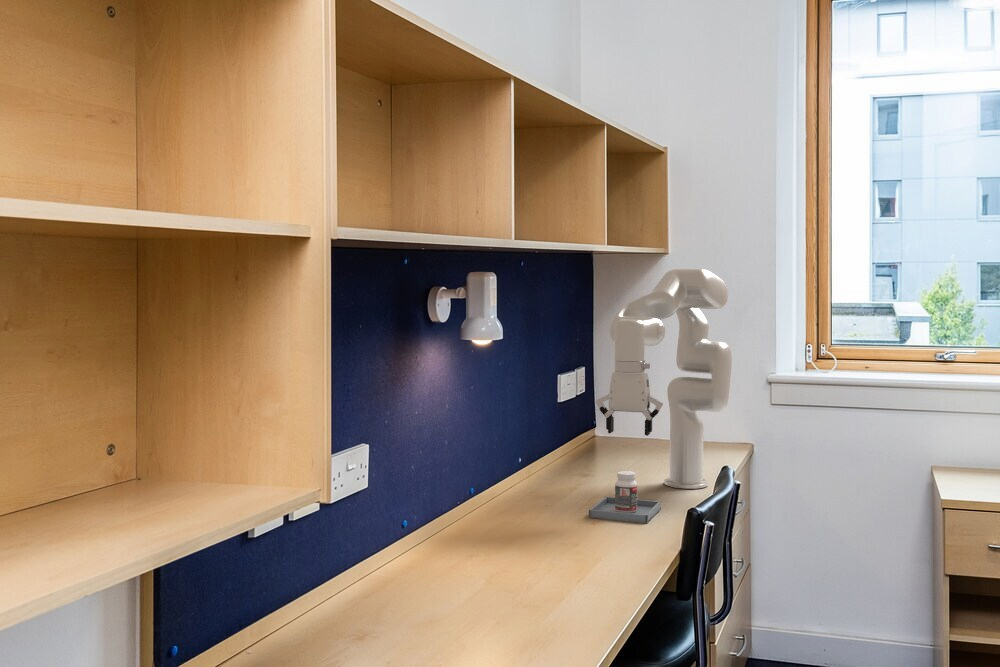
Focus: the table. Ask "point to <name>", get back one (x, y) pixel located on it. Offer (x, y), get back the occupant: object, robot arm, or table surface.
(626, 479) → the pill bottle
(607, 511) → the slate tray
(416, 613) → the table surface
